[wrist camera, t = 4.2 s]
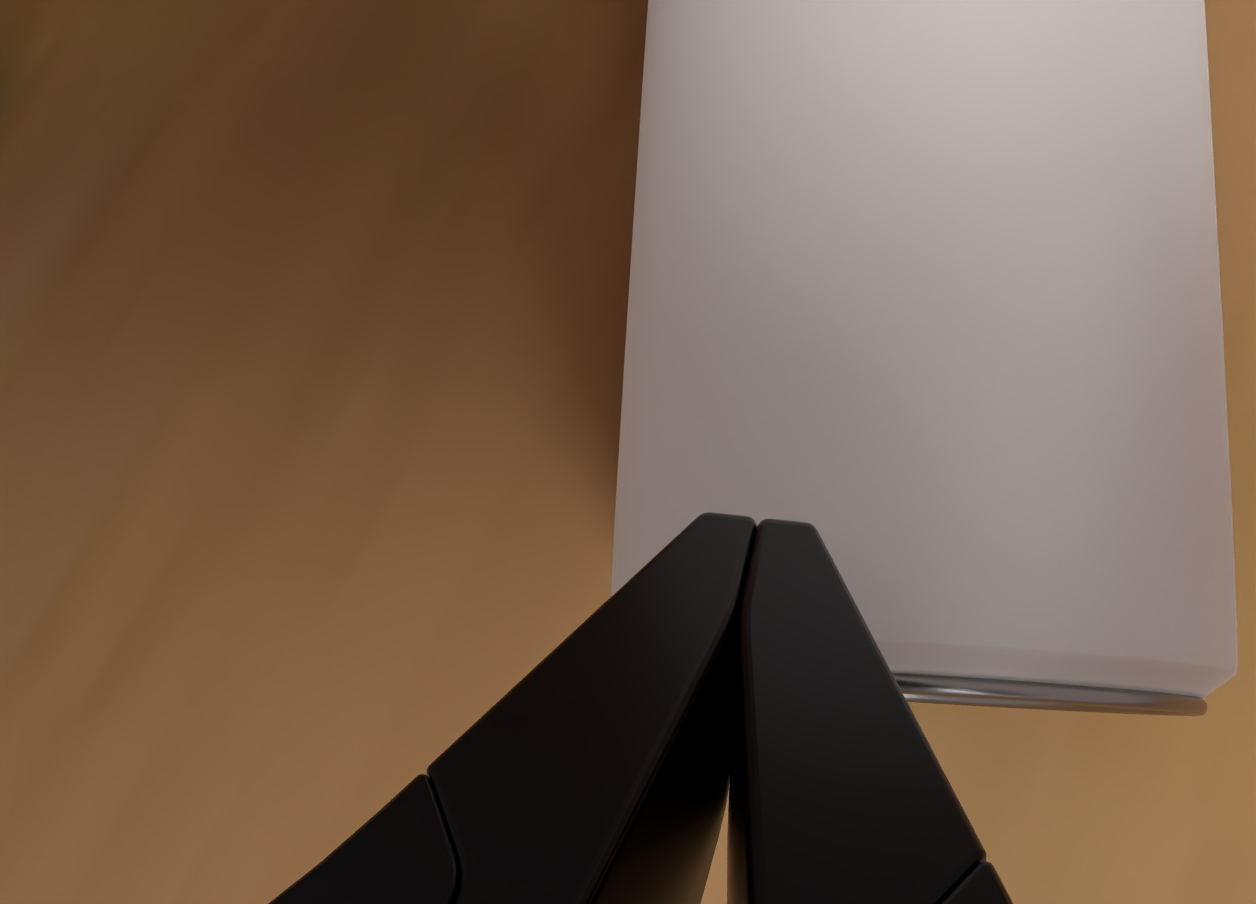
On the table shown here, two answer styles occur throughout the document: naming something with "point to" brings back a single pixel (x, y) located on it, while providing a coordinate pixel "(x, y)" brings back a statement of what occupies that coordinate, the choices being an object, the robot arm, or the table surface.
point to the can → (945, 330)
